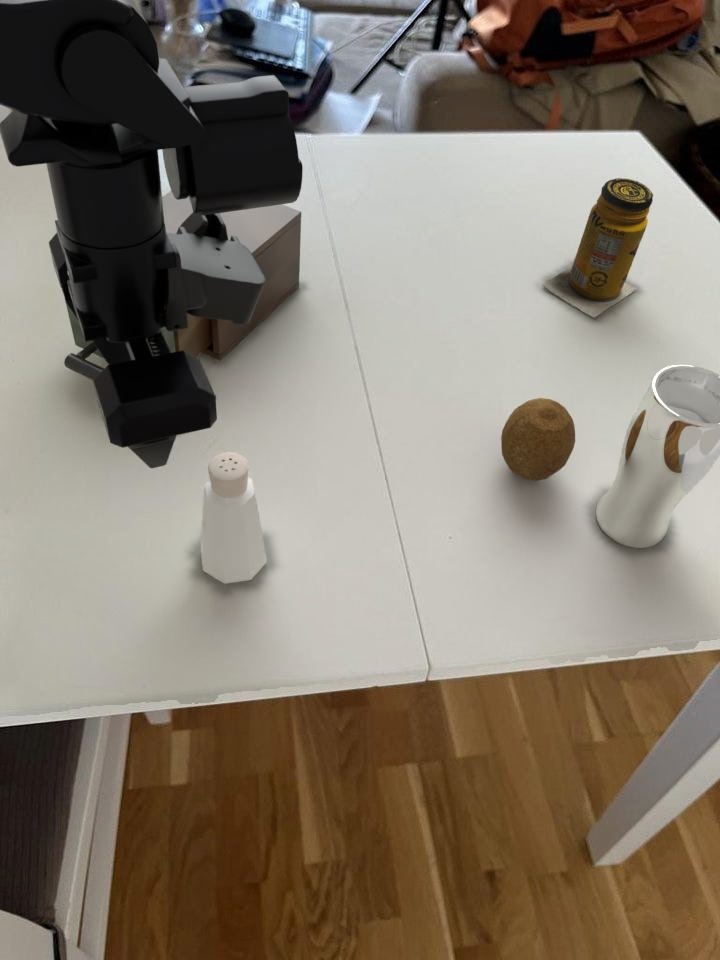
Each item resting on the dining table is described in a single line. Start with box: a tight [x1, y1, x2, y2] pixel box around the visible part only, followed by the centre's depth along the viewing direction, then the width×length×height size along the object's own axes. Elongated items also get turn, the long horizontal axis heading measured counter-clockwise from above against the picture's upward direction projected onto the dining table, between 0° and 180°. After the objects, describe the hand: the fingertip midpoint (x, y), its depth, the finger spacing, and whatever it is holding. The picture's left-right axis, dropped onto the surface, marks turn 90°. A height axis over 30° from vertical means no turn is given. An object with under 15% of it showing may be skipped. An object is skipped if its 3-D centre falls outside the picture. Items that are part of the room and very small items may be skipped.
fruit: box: [500, 397, 576, 481], centre depth 72 cm, size 6×6×8 cm
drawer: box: [63, 299, 213, 381], centre depth 78 cm, size 18×11×7 cm, turn 151°
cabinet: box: [162, 190, 302, 362], centre depth 84 cm, size 15×13×9 cm
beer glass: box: [595, 364, 720, 549], centre depth 66 cm, size 7×7×15 cm
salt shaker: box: [199, 451, 268, 584], centre depth 62 cm, size 5×5×11 cm
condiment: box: [541, 177, 654, 319], centre depth 89 cm, size 7×8×12 cm
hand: (141, 418), depth 58 cm, fingers open, 9 cm apart
